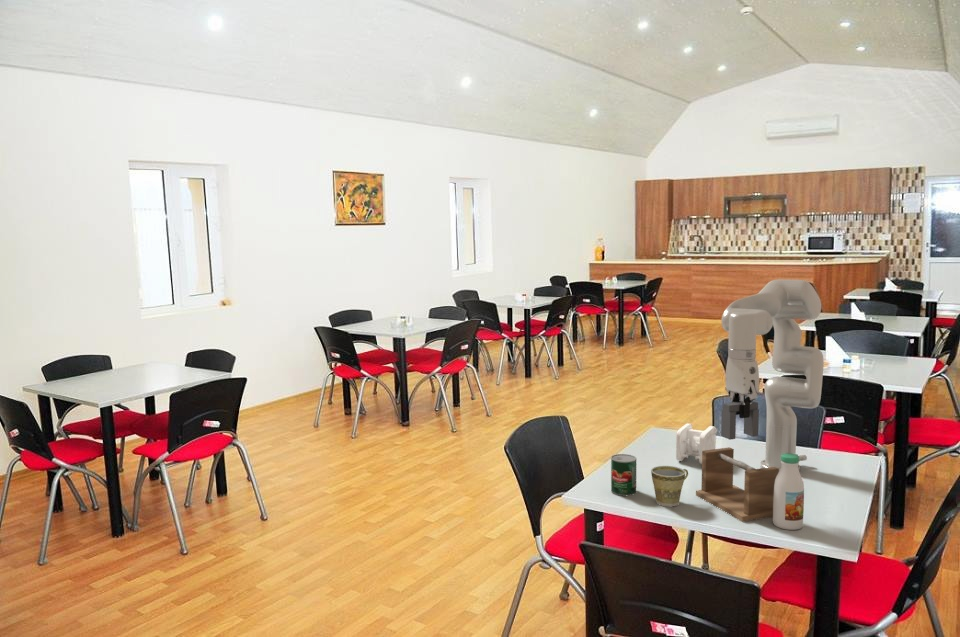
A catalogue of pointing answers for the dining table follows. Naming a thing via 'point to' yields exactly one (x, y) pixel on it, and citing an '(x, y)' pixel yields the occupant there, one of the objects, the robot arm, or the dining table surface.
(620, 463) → the canned tomato
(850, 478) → the dining table surface
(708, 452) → the wooden rod bracket
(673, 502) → the ceramic cup
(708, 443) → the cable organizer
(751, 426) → the grey arch block
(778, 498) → the milk bottle
